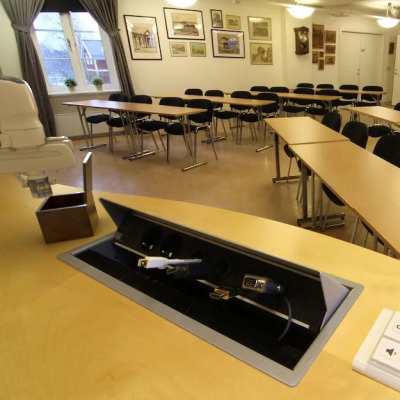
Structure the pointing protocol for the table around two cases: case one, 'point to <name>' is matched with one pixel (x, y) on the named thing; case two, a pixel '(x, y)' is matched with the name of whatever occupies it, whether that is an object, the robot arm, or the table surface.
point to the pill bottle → (39, 184)
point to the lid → (87, 177)
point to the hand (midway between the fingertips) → (39, 185)
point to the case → (67, 217)
